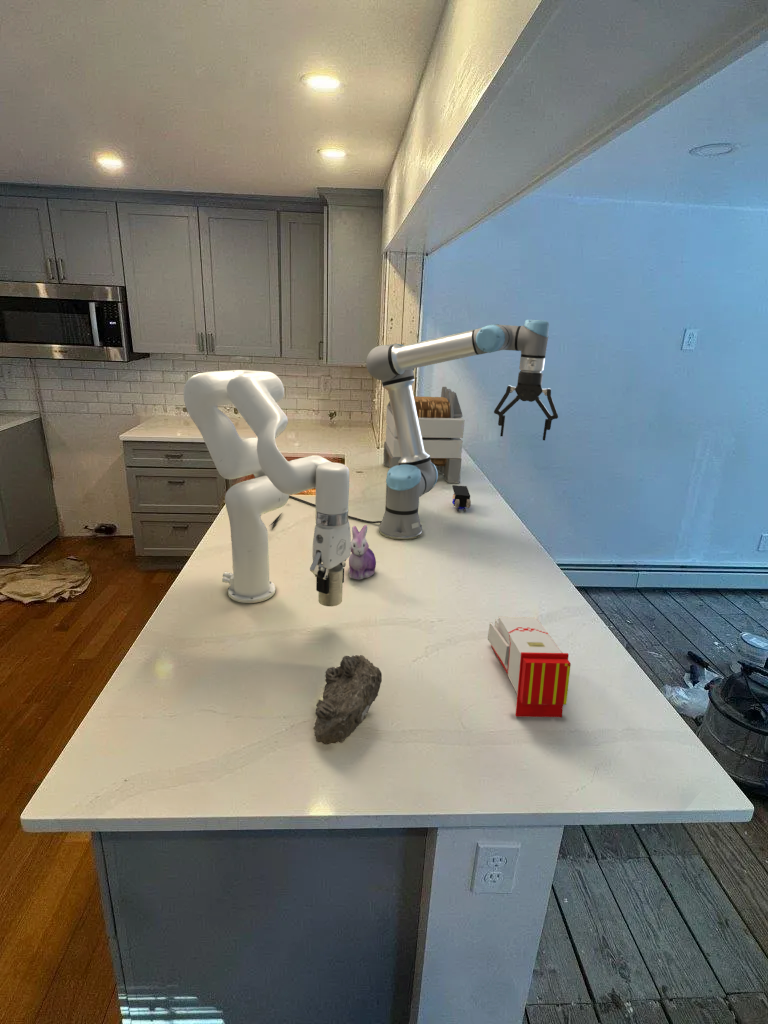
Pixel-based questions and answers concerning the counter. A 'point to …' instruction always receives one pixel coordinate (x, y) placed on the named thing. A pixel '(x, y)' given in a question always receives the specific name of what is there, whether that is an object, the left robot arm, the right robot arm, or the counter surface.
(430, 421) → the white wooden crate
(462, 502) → the figurine character
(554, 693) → the toy
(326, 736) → the fossil
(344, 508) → the left robot arm
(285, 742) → the counter surface
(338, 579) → the can
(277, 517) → the feather
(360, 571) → the figurine
